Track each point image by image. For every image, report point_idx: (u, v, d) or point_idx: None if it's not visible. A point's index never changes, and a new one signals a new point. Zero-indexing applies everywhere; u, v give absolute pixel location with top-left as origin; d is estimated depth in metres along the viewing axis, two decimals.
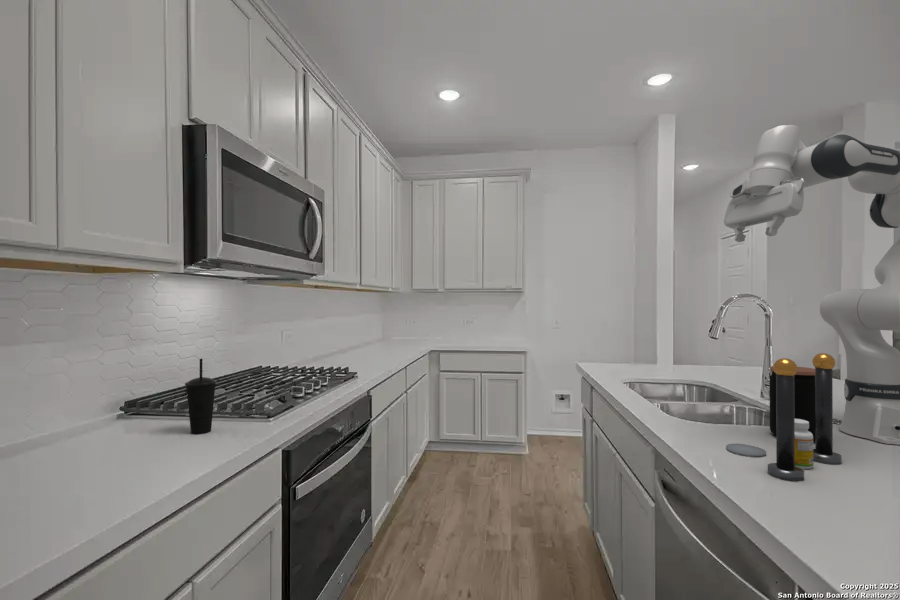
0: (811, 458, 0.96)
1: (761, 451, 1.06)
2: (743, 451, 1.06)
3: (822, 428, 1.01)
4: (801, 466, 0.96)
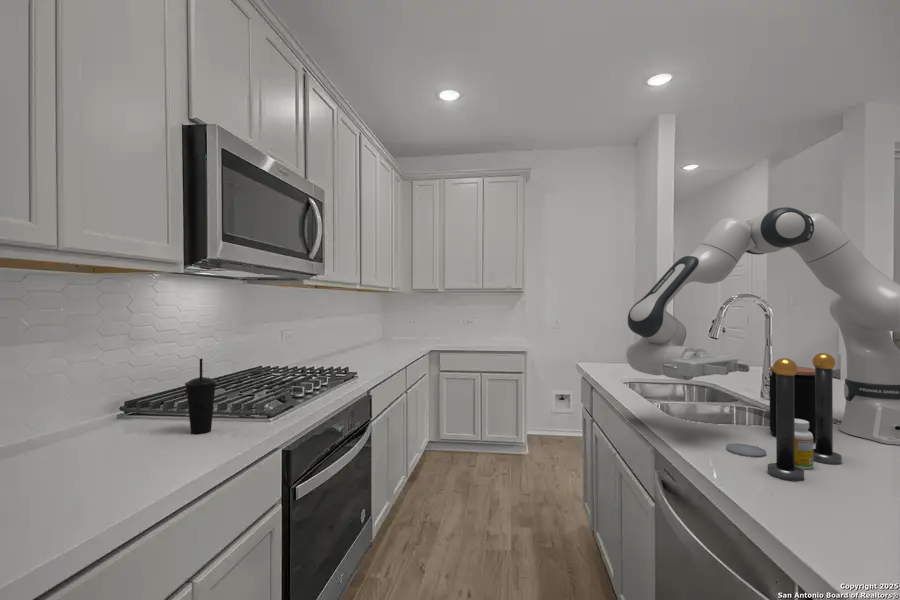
0: (811, 458, 0.96)
1: (761, 451, 1.06)
2: (743, 451, 1.06)
3: (822, 428, 1.01)
4: (801, 466, 0.96)
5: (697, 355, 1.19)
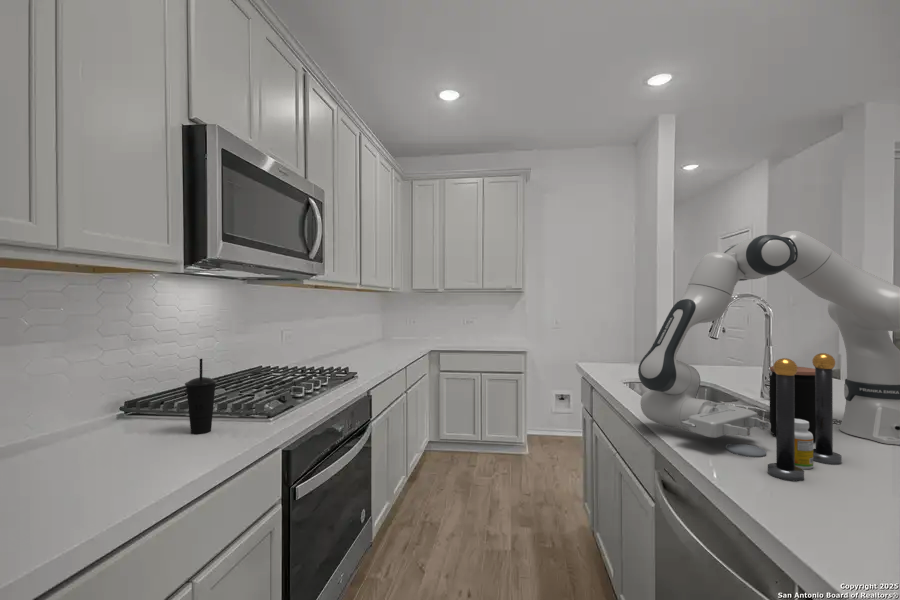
0: (811, 458, 0.96)
1: (761, 451, 1.06)
2: (743, 451, 1.06)
3: (822, 428, 1.01)
4: (801, 466, 0.96)
5: (715, 409, 1.15)
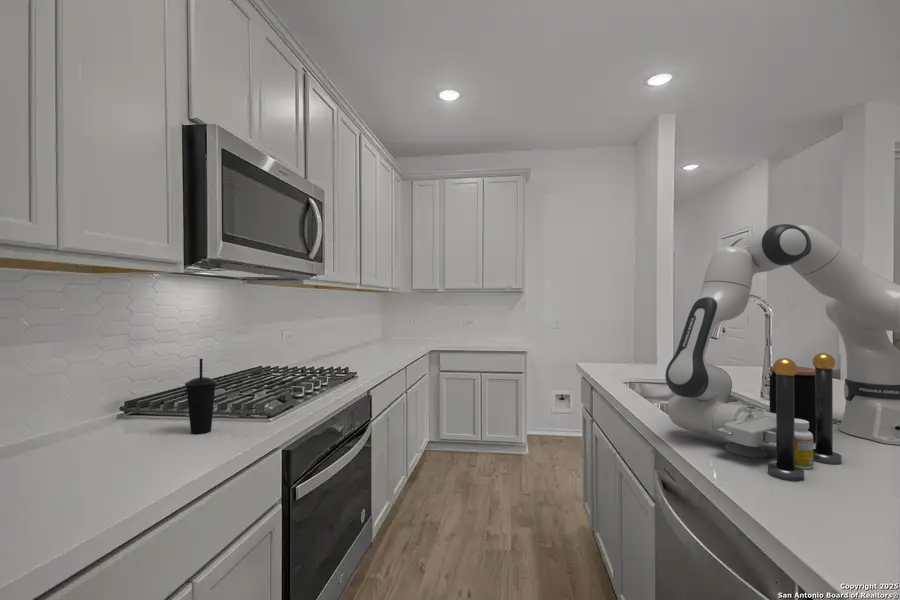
0: (811, 458, 0.96)
1: (761, 451, 1.06)
2: (743, 451, 1.06)
3: (822, 428, 1.01)
4: (801, 466, 0.96)
5: (751, 416, 1.07)
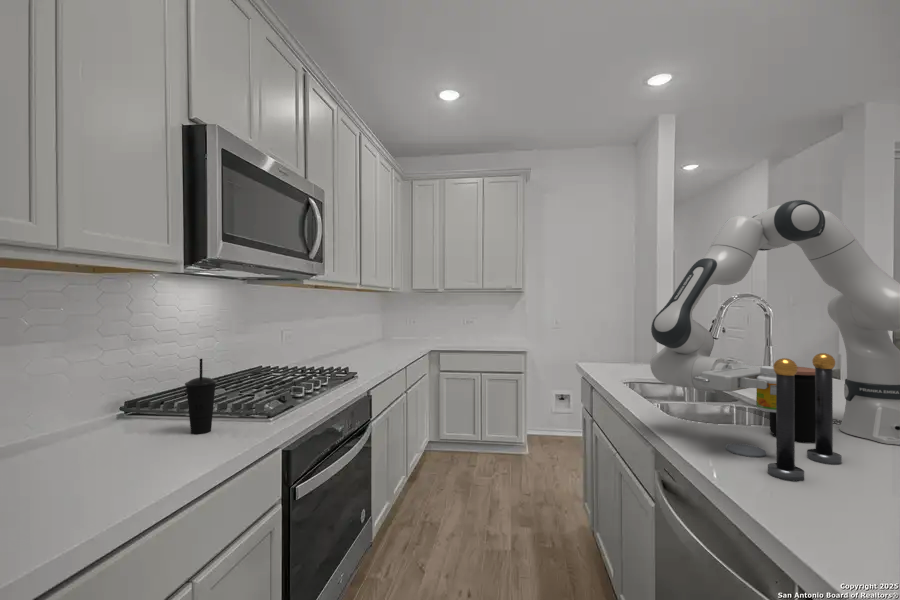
0: None
1: (761, 451, 1.06)
2: (743, 451, 1.06)
3: (822, 428, 1.01)
4: (773, 409, 1.01)
5: (729, 367, 1.12)
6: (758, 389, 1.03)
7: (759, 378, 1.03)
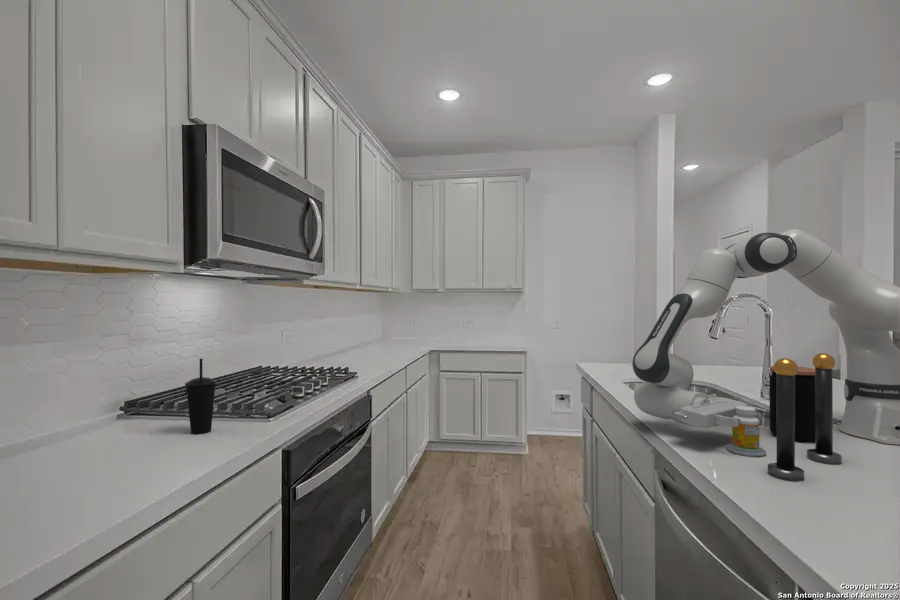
0: (757, 442, 1.05)
1: (761, 451, 1.06)
2: (743, 451, 1.06)
3: (822, 428, 1.01)
4: (748, 449, 1.05)
5: (707, 401, 1.17)
6: (733, 429, 1.08)
7: None
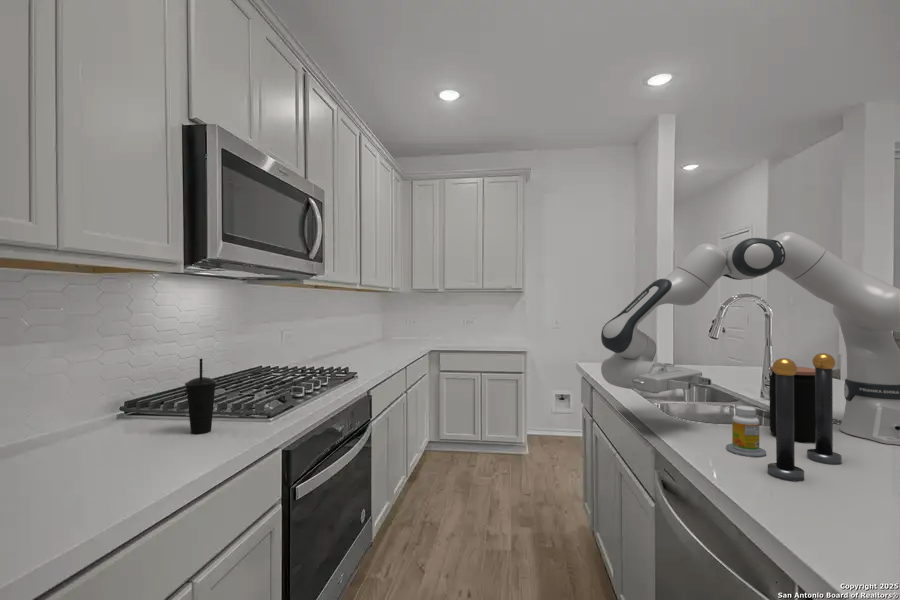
0: (757, 442, 1.05)
1: (761, 451, 1.06)
2: (743, 451, 1.06)
3: (822, 428, 1.01)
4: (748, 449, 1.05)
5: (664, 370, 1.27)
6: (734, 429, 1.08)
7: (734, 418, 1.08)
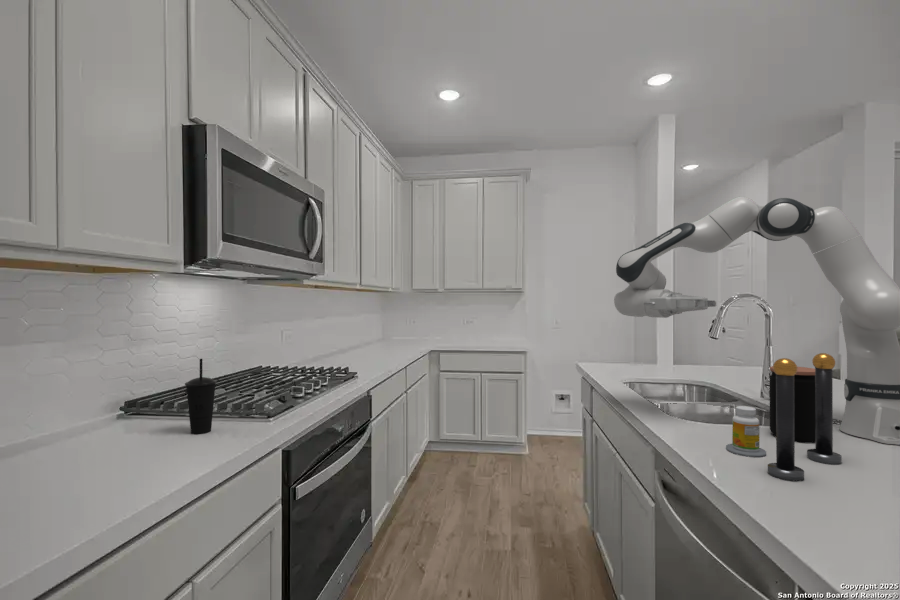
0: (757, 442, 1.05)
1: (761, 451, 1.06)
2: (743, 451, 1.06)
3: (822, 428, 1.01)
4: (748, 449, 1.05)
5: (673, 296, 1.39)
6: (733, 429, 1.08)
7: (734, 418, 1.08)
